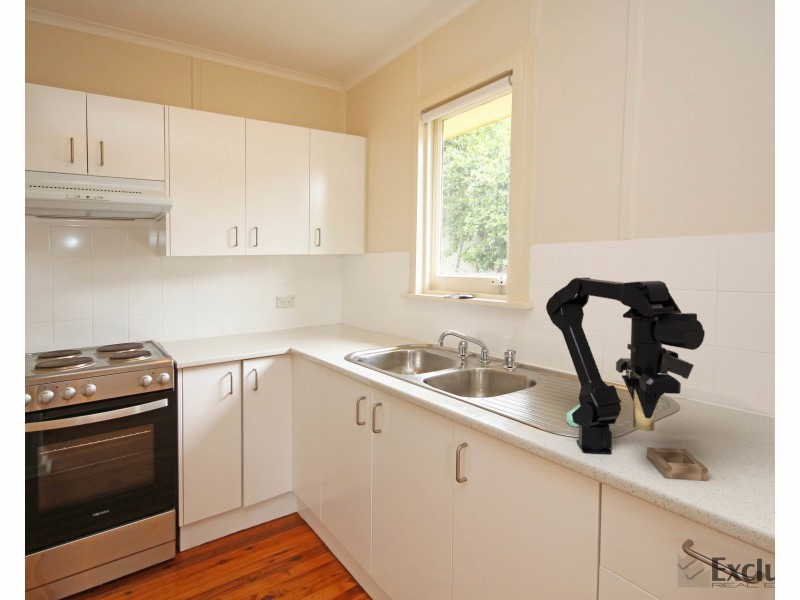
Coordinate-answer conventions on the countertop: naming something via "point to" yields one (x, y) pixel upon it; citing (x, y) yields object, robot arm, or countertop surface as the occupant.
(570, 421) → the container
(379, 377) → the countertop surface
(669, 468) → the jig
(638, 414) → the peg
